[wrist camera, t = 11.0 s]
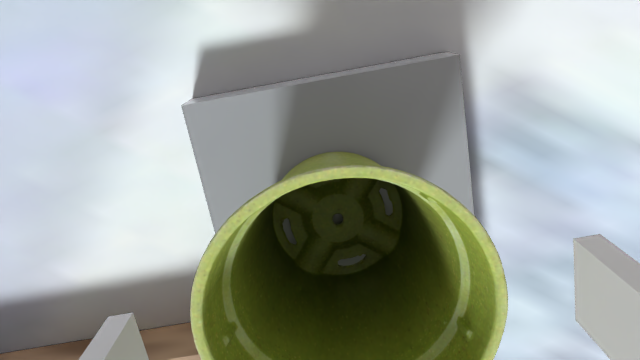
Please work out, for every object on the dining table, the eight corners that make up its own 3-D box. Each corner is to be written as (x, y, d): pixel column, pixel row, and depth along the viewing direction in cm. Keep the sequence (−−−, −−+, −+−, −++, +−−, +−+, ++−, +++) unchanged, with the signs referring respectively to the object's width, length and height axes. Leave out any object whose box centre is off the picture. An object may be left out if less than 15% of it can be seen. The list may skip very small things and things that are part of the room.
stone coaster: (248, 317, 27) (243, 340, 25) (192, 98, 23) (181, 105, 21) (470, 281, 26) (482, 301, 25) (447, 51, 23) (459, 54, 21)
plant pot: (201, 153, 22) (134, 233, 14) (405, 81, 21) (464, 119, 13) (277, 325, 25) (259, 477, 17) (461, 267, 24) (538, 396, 16)
